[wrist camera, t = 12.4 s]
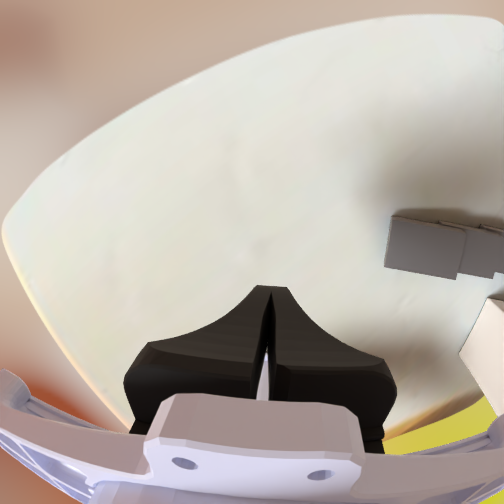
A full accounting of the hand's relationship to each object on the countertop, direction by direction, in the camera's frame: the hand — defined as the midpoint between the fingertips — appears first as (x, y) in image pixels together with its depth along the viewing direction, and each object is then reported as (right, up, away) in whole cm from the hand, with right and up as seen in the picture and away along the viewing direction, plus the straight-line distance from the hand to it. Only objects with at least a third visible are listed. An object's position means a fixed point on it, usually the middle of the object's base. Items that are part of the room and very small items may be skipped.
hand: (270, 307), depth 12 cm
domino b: (+14, +3, +7) cm, 16 cm away
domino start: (+9, +3, +8) cm, 13 cm away
